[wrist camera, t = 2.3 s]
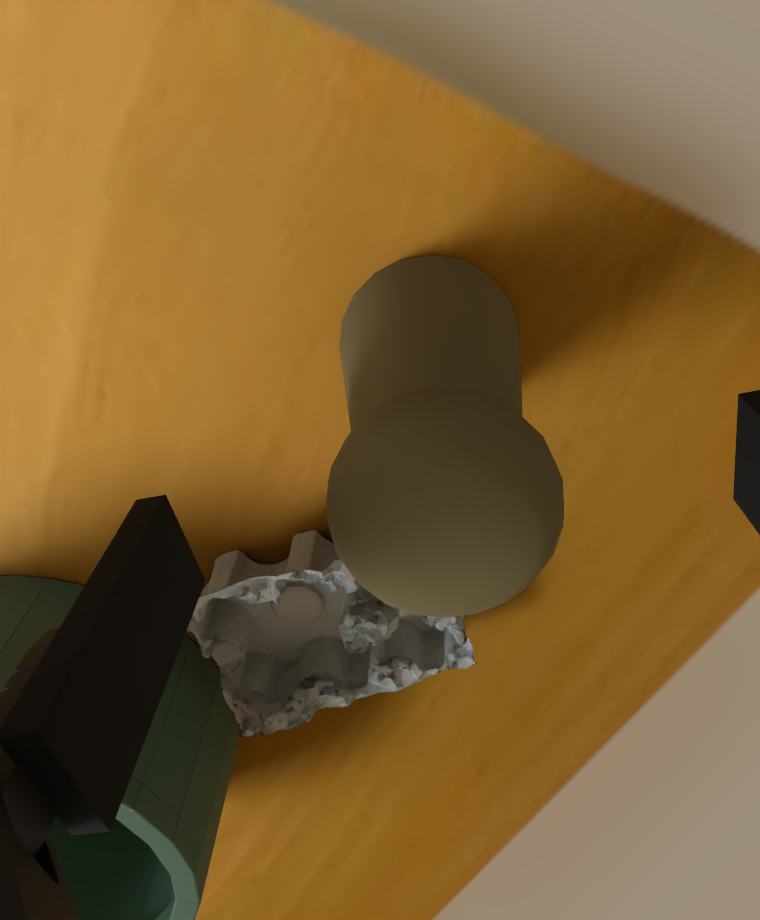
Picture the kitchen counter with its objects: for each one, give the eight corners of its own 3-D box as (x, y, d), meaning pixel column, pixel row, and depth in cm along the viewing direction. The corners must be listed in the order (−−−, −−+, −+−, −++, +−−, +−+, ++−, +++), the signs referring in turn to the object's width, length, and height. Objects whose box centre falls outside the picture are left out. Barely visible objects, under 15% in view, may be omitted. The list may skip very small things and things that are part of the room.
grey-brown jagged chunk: (250, 668, 32) (230, 745, 28) (183, 545, 28) (151, 618, 24) (475, 630, 30) (484, 708, 26) (437, 494, 26) (441, 564, 23)
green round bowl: (-198, 606, 30) (-372, 770, 24) (160, 547, 28) (82, 710, 21) (-3, 822, 39) (-89, 987, 32) (282, 791, 37) (255, 962, 30)
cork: (409, 452, 25) (414, 695, 16) (302, 327, 23) (233, 529, 13) (553, 361, 23) (655, 580, 14) (452, 214, 21) (495, 358, 11)
